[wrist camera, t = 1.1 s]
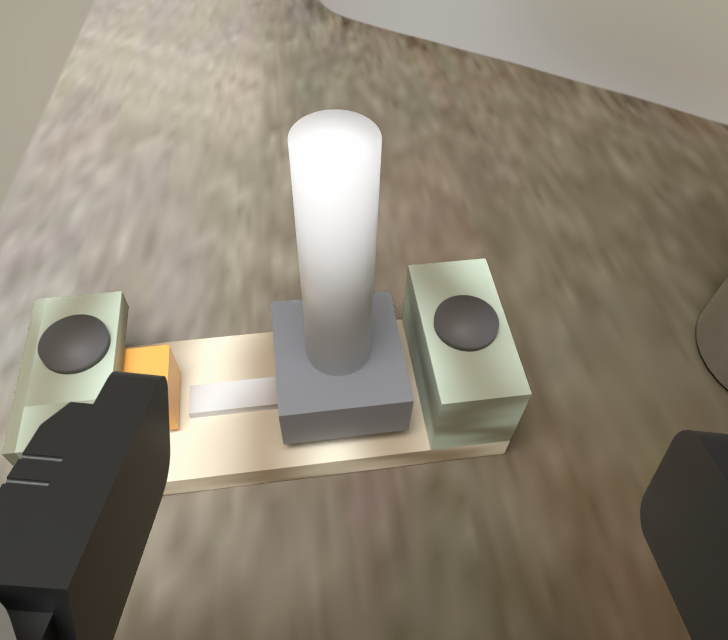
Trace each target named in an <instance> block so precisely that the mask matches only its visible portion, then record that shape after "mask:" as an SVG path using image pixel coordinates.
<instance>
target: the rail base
mask: <svg viewBox="0 0 728 640" xmlns="http://www.w3.org/2000/svg"><path fill="white" fill-rule="evenodd" d="M128 309H129V306H128V304H127V302H126V300H125V297H124V295H123V293H122V291H120V292H109V293H98V294H87V295H76V296H65V297H54V298H43V299H35V302H34V307H33V311H32V316H31V321H30V325H29V330H28V335H27V339H26V344H25V348H24V353H23V358H22V362H21V367H20V372H19V376H18V381H17V386H16V390H15V395H14V400H13V404H12V409H11V414H10V418H9V423H8V428H7V432H6V437H5V441H4V446H3V451H2V455H3V456H4V457H5V458H6V459H7V460H8V461H9V462H10V463H11V464H12V465H13V466H14V465H15V464H16V462H17V461H18V459H21V458H22V453H23V451H24V450H25V448H26V446H27V445H28V443H29V442H30V440H31V439H32V437H33V435H34V434H35V432H36V431H37V429H38V428H39V426H40V424H42V423H43V422H44V421H46V420H47V419H48V418H50V417H51V416H52V415H54V414H55V413H56V412H58V411H59V410H60V409H62V408H63V407H64V406H66V405H67V404H68V403H70V402H78V403H89V404H93V403H94V402H95V400H96V398H97V396H98V394H99V392H100V391H101V389H102V387H103V385H104V383H105V382H106V380H107V378H108V376H109V375H110V374H111V373H112V372H113V371H121V372H122V367H123V358H124V349H130V348H140V347H150V346H160V345H170V347H171V350H172V352H173V355H174V357H175V360H176V362H177V365H178V368H179V370H180V373H181V379H180V406H179V429H174V430H170V465H169V472H168V478H167V482H166V486H165V490H164V493H163V495H171V494H179V493H187V492H196V491H204V490H212V489H220V488H228V487H236V486H244V485H252V484H261V483H269V482H277V481H285V480H293V479H301V478H309V477H318V476H326V475H334V474H342V473H350V472H358V471H366V470H375V469H383V468H391V467H399V466H407V465H415V464H423V463H432V462H440V461H448V460H456V459H464V458H472V457H480V456H489V455H497V454H504V453H505V451H506V449H507V446H508V444H509V442H510V440H511V438H512V436H513V433H514V431H515V429H516V427H517V425H518V423H519V421H520V418H521V416H522V414H523V412H524V410H525V408H526V405H527V403H528V401H529V399H530V397H531V395H532V393H531V391H530V388H529V385H528V382H527V379H526V376H525V373H524V370H523V367H522V364H521V361H520V358H519V355H518V352H517V350H516V347H515V344H514V341H513V338H512V335H511V332H510V329H509V326H508V323H507V320H506V317H505V314H504V311H503V309H502V306H501V303H500V300H499V297H498V294H497V291H496V288H495V285H494V282H493V279H492V276H491V273H490V270H489V267H488V265H487V262H486V259H474V260H463V261H452V262H441V263H430V264H419V265H408V272H407V280H406V289H405V297H404V306H403V314H402V319H398V320H397V325H398V330H399V335H400V339H401V344H402V349H403V353H404V358H405V363H406V368H407V372H408V377H409V382H410V386H411V391H412V396H413V400H414V402H413V408H412V414H411V419H410V425H409V430H405V431H396V432H388V433H379V434H371V435H362V436H354V437H345V438H336V439H328V440H319V441H311V442H302V443H294V444H285V445H284V444H283V439H282V433H281V427H280V422H279V416H278V401H277V386H276V371H275V356H274V341H273V332H267V333H257V334H247V335H237V336H227V337H217V338H207V339H196V340H186V341H176V342H166V343H156V344H146V345H136V346H126V347H125V338H126V328H127V318H128Z"/></svg>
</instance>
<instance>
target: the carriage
mask: <svg viewBox="0 0 728 640" xmlns="http://www.w3.org/2000/svg"><path fill="white" fill-rule="evenodd" d="M381 146H382V136H381V132H380V130H379V128H378V127H377V126H376V124H375V123H374V122H373V121H371V120H370V119H368V118H367V117H365V116H363V115H361V114H358V113H355V112H351V111H347V110H323V111H318V112H314V113H311V114H309V115H307V116H305V117H303V118H301V119H300V120H298V121H297V122H296V123H295V124H294V125H293V126H292V128H291V129H290V132H289V135H288V147H289V158H290V169H291V181H292V192H293V203H294V215H295V226H296V237H297V249H298V260H299V271H300V283H301V294H302V299H299V300H288V301H278V302H271V312H272V326H273V341H274V356H275V371H276V386H277V401H278V416H279V422H280V427H281V433H282V439H283V444H284V445H285V444H294V443H302V442H311V441H319V440H328V439H336V438H345V437H354V436H362V435H371V434H379V433H388V432H396V431H405V430H409V425H410V419H411V414H412V408H413V402H414V400H413V396H412V391H411V386H410V382H409V377H408V372H407V368H406V363H405V358H404V353H403V349H402V344H401V339H400V335H399V330H398V325H397V320H396V316H395V311H394V306H393V302H392V297H391V292H390V291H384V292H373V291H374V273H375V255H376V237H377V219H378V200H379V182H380V164H381Z"/></svg>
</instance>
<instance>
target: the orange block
mask: <svg viewBox="0 0 728 640" xmlns="http://www.w3.org/2000/svg"><path fill="white" fill-rule="evenodd" d="M122 372H131V373H141V374H150V375H160V376H165V377H166V379H167V384H168V401H169V426H170V430H174V429H179V406H180V379H181V373H180V370H179V368H178V365H177V362H176V360H175V357H174V355H173V352H172V350H171V347H170V345H160V346H150V347H140V348H130V349H124V358H123V367H122Z"/></svg>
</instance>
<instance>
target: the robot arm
mask: <svg viewBox="0 0 728 640" xmlns="http://www.w3.org/2000/svg"><path fill="white" fill-rule="evenodd" d="M696 340H697V343H698V347H699V350H700V354H701V356H702V357H703V359H704V361H705V363H706V365H707V367H708V368H709V370H710V371H711V372H712V373H713V375H714V376H715V377H716V378H717V380H718V381H719V382H720V383H721V384H722V385H723V386H724V387H725V388H726V389H728V276H727V278H726V279H725V281H724V282H723V283H722V285H721V286H720V287H719V289H718V290H717V292H716V293H715V294H714V296H713V297H712V298H711V300H710V301H709V303H708V304H707V305H706V307H705V308H704V310H703V311H702V313H701V314H700V316H699V319H698V322H697V326H696ZM169 465H170V426H169V401H168V384H167V379H166V377H165V376H160V375H150V374H141V373H131V372H121V371H113V372H112V373H111V374H110V375H109V376H108V378H107V380H106V382H105V383H104V385H103V387H102V389H101V391H100V392H99V394H98V396H97V398H96V400H95V402H94V403H93V404H89V403H78V402H70V403H68V404H67V405H66V406H64V407H63V408H62V409H60V410H59V411H58V412H56V413H55V414H54V415H52V416H51V417H50V418H48V419H47V420H46V421H44V422H43V423H42V424H40V426H39V428H38V429H37V431H36V432H35V434H34V435H33V437H32V439H31V440H30V442H29V443H28V445H27V446H26V448H25V450H24V451H23V453H22V458H21V459H18V461H17V462H16V464H15V465H14V467H13V468H12V470H11V472H10V473H9V475H8V476H7V481H6V484H2V486H1V487H0V640H113V638H114V635H115V633H116V630H117V627H118V624H119V621H120V618H121V615H122V612H123V609H124V606H125V604H126V601H127V598H128V595H129V592H130V589H131V586H132V583H133V580H134V577H135V574H136V572H137V569H138V566H139V563H140V560H141V557H142V554H143V551H144V548H145V545H146V543H147V540H148V537H149V534H150V531H151V528H152V525H153V522H154V519H155V516H156V513H157V511H158V508H159V505H160V502H161V499H162V496H163V493H164V490H165V486H166V482H167V478H168V472H169ZM640 519H641V526H642V530H643V534H644V536H645V539H646V541H647V543H648V545H649V547H650V550H651V552H652V554H653V556H654V558H655V560H656V563H657V565H658V567H659V569H660V571H661V573H662V576H663V578H664V580H665V582H666V584H667V587H668V589H669V591H670V593H671V595H672V597H673V600H674V602H675V604H676V606H677V608H678V610H679V613H680V615H681V617H682V619H683V621H684V624H685V626H686V628H687V630H688V632H689V634H690V637H691V639H692V640H728V434H721V433H711V432H701V431H691V430H683V431H681V432H679V433H678V434H677V435H676V436H675V437H674V439H673V440H672V442H671V444H670V446H669V448H668V450H667V452H666V454H665V456H664V457H663V459H662V461H661V463H660V465H659V467H658V469H657V471H656V473H655V475H654V477H653V478H652V480H651V482H650V484H649V486H648V488H647V490H646V492H645V494H644V496H643V499H642V503H641V510H640Z"/></svg>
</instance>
